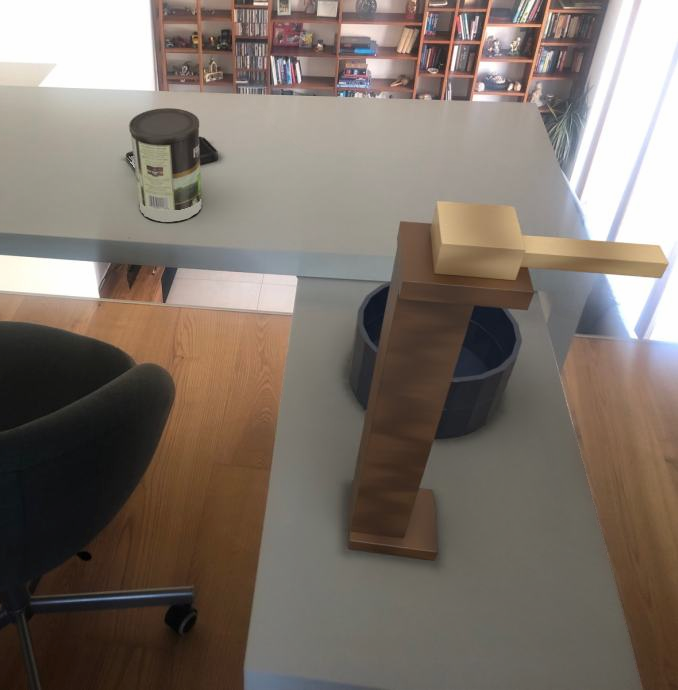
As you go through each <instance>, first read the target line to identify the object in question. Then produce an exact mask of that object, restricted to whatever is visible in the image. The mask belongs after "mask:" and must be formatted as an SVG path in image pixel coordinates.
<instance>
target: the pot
mask: <svg viewBox="0 0 678 690" xmlns="http://www.w3.org/2000/svg"><path fill="white" fill-rule="evenodd" d="M390 282H391V281H388V282H385V283H382V284H380V285H378V286H377V287H376V288H375V289H373V290H372V291H370V292H369V293H368V294H367V295H366V296H365V297H364V298H363V301H361V304H360V305H359V307H358V310H357V316H356V323H355V328H354V336H353V342H352V348H351V354H350V361H349V372H348V373H349V374H348V375H349V376H348V377H349V385H350V388H351V391H352V393H353V395H354V397H355V398H356V400H357V402H358V403H359V404H360V405H361V407H362V408H363V409H364V410H365V411H366V410H367V404H368V399H369V394H370V388H371V383H372V378H373V372H374V367H375V362H376V357H377V351H378V346H379V341H380V335H381V330H382V325H383V320H384V314H385V309H386V304H387V298H388V293H389V288H390ZM522 343H523V338H522V334H521V330H520V325H519V323H518V321H517V320H516V318H515V316H514V315H513V314H512V313H511V312H510V309H507V308H496V307H484V306H474V308H473V311H472V315H471V318H470V321H469V324H468V328H467V331H466V334H465V338H464V341H463V344H462V348H461V351H460V354H459V358H458V361H457V364H456V368H455V371H454V374H453V378H452V381H451V384H450V388H449V391H448V394H447V398H446V401H445V404H444V408H443V411H442V414H441V417H440V421H439V424H438V427H437V431H436V434H435V437H434V439H451V438H458V437H462V436H465V435H469V434H471V433H473V432H476V431H478V430H479V429H481V428H482V427H483V426H485V425H486V424H487V423H488V422H490V420H491V419H492V418H494V415H495V414H496V412H497V411H498V410H499V406H500V404H501V401H502V399H503V396H504V393H505V391H506V388H507V385H508V383H509V380H510V377H511V375H512V373H513V369H514V367H515V365H516V362H517V359H518V357H519V353H520V350H521V346H522Z"/></svg>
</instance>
